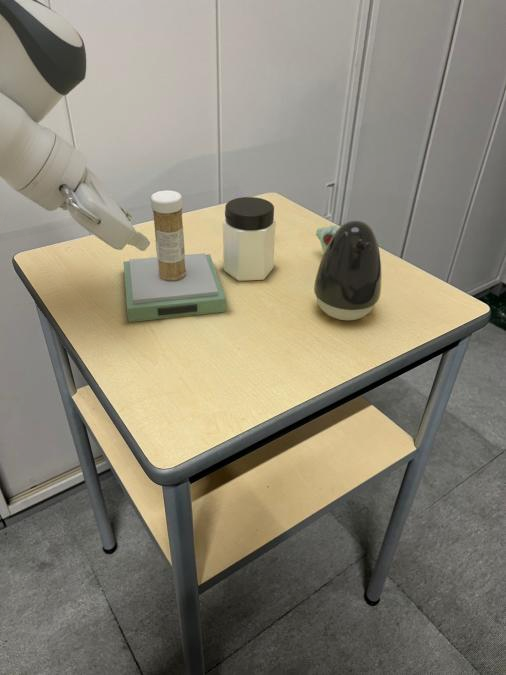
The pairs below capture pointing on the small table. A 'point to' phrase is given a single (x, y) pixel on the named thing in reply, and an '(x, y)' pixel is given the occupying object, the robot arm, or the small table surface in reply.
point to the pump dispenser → (349, 273)
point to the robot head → (326, 235)
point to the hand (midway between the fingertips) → (136, 232)
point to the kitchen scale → (172, 289)
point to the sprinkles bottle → (169, 234)
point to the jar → (248, 238)
